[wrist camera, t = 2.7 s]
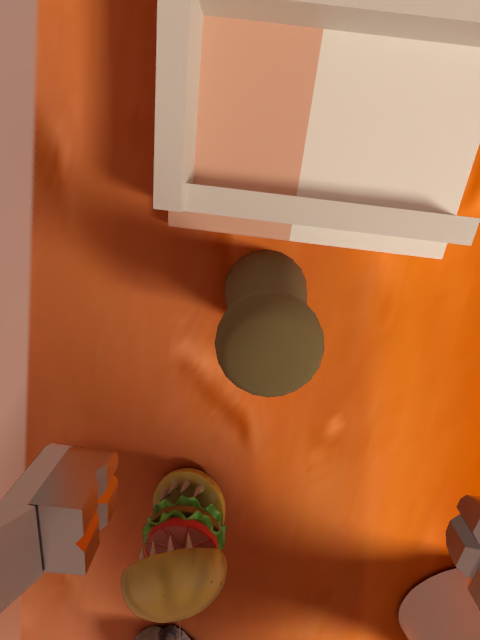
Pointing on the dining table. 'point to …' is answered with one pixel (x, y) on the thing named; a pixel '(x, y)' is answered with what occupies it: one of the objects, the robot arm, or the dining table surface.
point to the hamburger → (179, 550)
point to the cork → (268, 326)
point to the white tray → (319, 120)
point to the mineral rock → (162, 634)
